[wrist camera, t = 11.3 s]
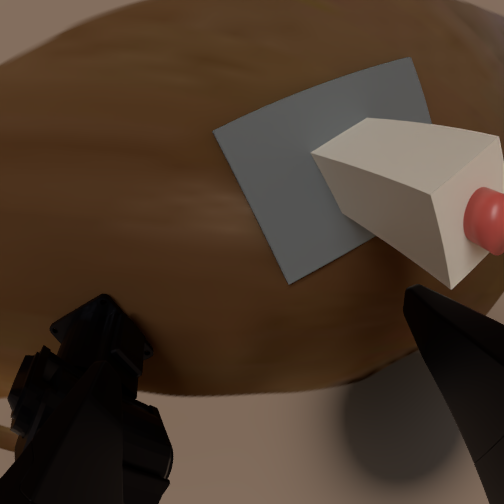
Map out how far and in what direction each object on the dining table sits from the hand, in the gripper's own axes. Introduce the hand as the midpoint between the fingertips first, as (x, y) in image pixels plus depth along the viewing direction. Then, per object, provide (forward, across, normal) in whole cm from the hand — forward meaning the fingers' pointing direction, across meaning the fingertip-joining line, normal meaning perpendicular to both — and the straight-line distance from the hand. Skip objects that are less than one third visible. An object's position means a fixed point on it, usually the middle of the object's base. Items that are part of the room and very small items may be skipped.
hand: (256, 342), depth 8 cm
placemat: (+14, -9, 0) cm, 17 cm away
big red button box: (+14, -9, 0) cm, 16 cm away
